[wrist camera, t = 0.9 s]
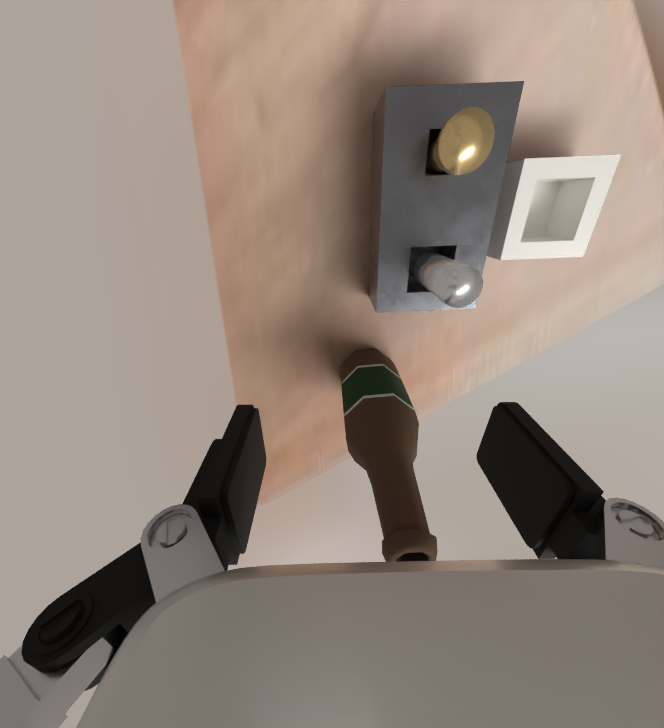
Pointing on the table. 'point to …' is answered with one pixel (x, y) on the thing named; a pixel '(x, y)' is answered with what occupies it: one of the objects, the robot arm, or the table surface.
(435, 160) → the key
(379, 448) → the beer bottle
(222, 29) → the table surface
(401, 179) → the socket block
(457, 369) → the table surface
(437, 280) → the silver rounded peg
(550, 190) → the holder
